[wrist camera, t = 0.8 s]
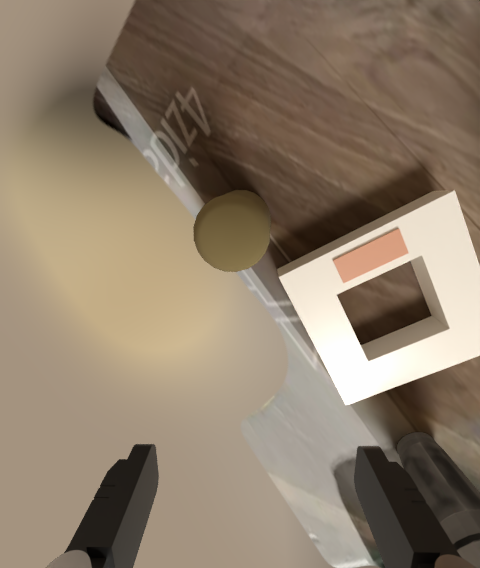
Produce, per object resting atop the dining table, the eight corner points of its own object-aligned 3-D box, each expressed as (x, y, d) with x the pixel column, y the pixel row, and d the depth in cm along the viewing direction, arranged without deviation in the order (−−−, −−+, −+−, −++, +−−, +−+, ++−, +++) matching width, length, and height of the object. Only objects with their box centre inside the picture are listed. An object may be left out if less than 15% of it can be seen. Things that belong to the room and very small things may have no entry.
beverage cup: (459, 433, 34) (715, 738, 15) (428, 476, 36) (617, 789, 17) (402, 415, 34) (587, 702, 15) (374, 459, 36) (505, 759, 17)
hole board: (433, 190, 26) (456, 190, 23) (482, 331, 30) (507, 346, 27) (276, 269, 29) (278, 277, 26) (338, 387, 33) (346, 407, 30)
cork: (197, 220, 28) (161, 235, 18) (241, 175, 27) (230, 163, 16) (239, 263, 30) (228, 301, 19) (283, 222, 28) (298, 239, 18)
